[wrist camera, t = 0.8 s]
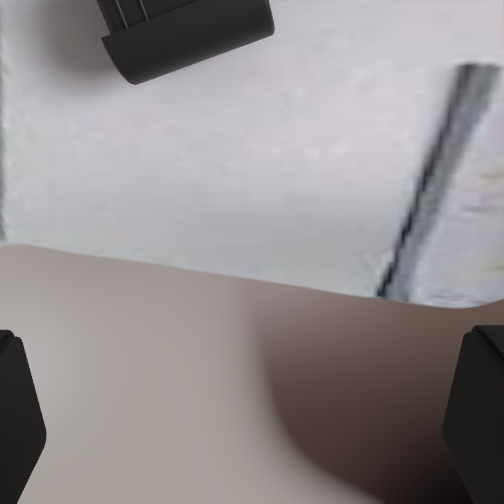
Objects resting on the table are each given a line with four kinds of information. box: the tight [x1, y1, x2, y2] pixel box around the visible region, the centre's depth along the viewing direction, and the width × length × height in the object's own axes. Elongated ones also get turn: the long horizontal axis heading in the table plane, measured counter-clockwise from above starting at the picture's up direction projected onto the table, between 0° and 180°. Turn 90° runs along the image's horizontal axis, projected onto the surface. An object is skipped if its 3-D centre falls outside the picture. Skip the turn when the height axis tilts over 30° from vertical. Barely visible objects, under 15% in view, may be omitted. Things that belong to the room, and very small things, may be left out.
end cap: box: [97, 0, 275, 85], centre depth 29 cm, size 10×7×7 cm
